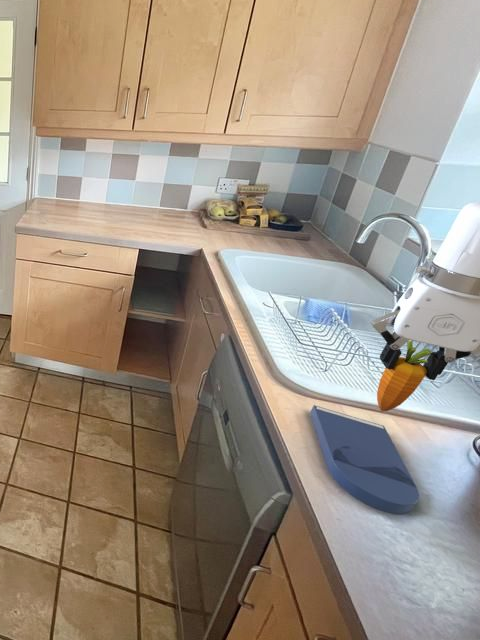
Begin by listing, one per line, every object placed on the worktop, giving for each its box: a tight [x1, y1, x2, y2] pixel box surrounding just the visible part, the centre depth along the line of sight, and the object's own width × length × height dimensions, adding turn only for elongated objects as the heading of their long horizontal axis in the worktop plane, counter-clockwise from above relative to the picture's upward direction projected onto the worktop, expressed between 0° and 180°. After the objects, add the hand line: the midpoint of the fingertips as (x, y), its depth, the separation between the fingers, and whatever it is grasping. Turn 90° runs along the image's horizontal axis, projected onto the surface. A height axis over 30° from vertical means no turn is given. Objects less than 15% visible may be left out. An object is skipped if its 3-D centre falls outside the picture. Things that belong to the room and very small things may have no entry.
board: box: [309, 404, 420, 515], centre depth 80 cm, size 12×22×3 cm, turn 153°
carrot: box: [376, 340, 432, 412], centre depth 75 cm, size 5×5×15 cm
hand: (406, 369), depth 74 cm, fingers closed on carrot, 4 cm apart
